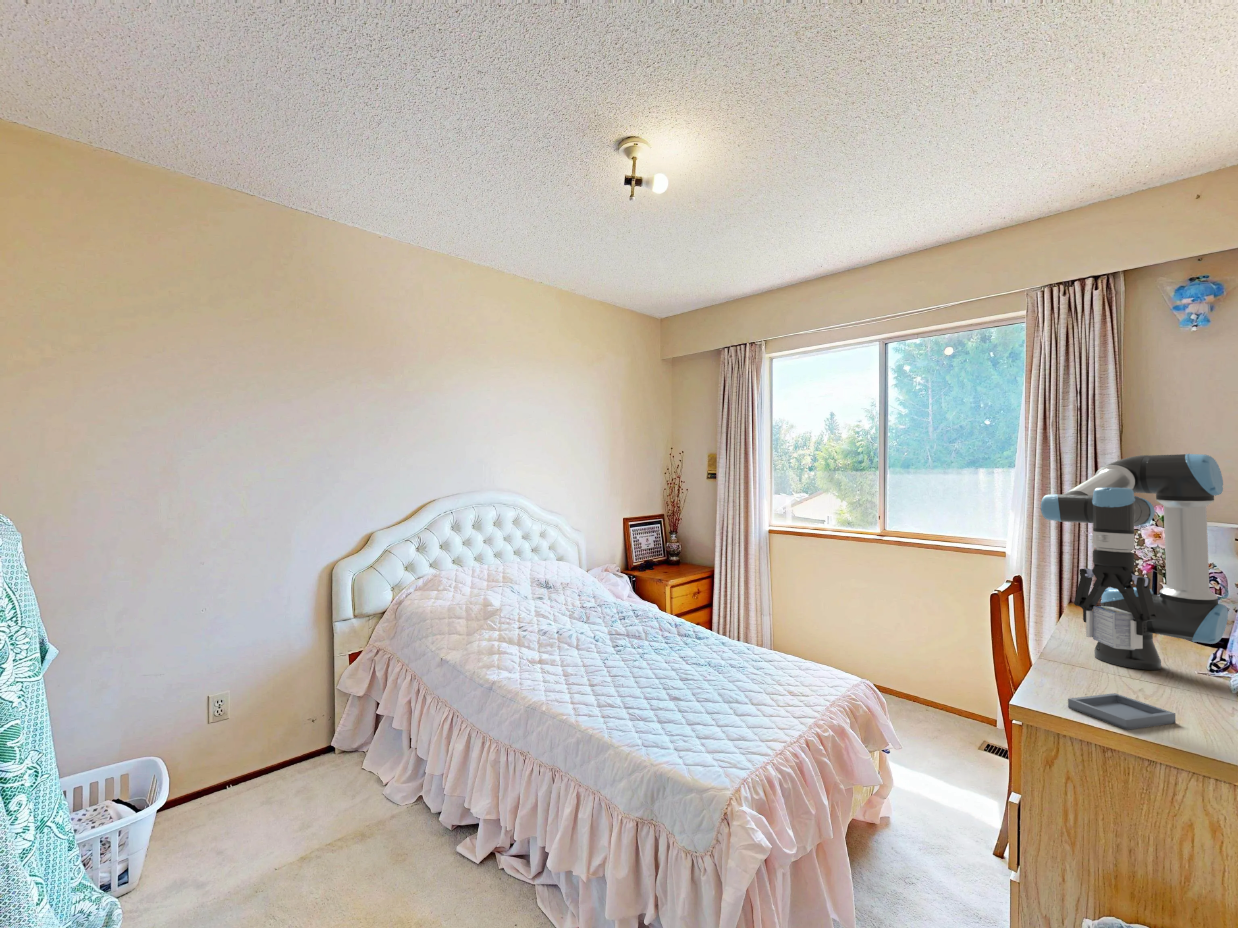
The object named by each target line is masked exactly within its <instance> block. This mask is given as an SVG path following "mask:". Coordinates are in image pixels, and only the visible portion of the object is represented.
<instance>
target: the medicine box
mask: <svg viewBox="0 0 1238 928" xmlns="http://www.w3.org/2000/svg"><path fill="white" fill-rule="evenodd" d="M1092 611H1093V637H1092V639H1093V641H1097V643H1098V642H1101V643H1103V644H1106V645H1108V646H1110V647H1113V648H1116V649H1126V650H1135V649H1133V648H1131V623H1130V620H1133V619H1134V617H1133V615H1132V613H1130V612H1127V611H1123V610H1120V609H1117V608H1114V607H1106V606H1101V605H1096V606H1093V610H1092Z"/></svg>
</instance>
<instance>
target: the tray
mask: <svg viewBox="0 0 1238 928" xmlns="http://www.w3.org/2000/svg"><path fill="white" fill-rule="evenodd" d="M1067 701H1068V702H1067V704H1068V705H1067V706H1068V707H1069V709H1070V708H1071V710H1073V709H1074V711H1076V712H1078V711H1080V712H1079V713H1081V712H1082V713H1081V714H1083V713H1085V714H1084V715H1086V714H1087V715H1086V716H1089V715H1090V716H1089V717H1091V718H1094V717H1095V718H1094V719H1096V718H1097V720H1099V719H1100V720H1099V721H1102V722H1105V723H1107V724H1109V725H1113V726H1115V727H1118V728H1120V729H1123V730H1125V731H1128V730H1137V729H1142V728H1143V729H1144V728H1150V727H1158V726H1164V725H1171V724H1176V723H1177V722H1176V713H1175V712H1173V711H1169V710H1166V709H1163V708H1161V707H1157V706H1155V705H1152V704H1149V703H1145V702H1142V701H1140V700H1137V699H1133V698H1131V697H1128V696H1124V695H1122V694H1118V693H1115V692H1114V693H1113V692H1112V693H1105V694H1104V693H1103V694H1096V695H1088V696H1080V697H1070V698H1068V699H1067ZM1068 707H1067V708H1068Z"/></svg>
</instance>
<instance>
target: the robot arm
mask: <svg viewBox="0 0 1238 928" xmlns="http://www.w3.org/2000/svg"><path fill="white" fill-rule="evenodd" d="M1223 491H1224V479H1223V474H1222V471H1221V468H1220V466H1219V464H1218V462H1217V461H1216V459H1215V458H1214V457H1212V456H1211V455H1208V454H1201V453H1200V454H1199V453H1198V454H1196V453H1195V454H1194V453H1184V454H1153V455H1149V454H1148V455H1147V454H1142V455H1140V454H1139V455H1134V456H1129V457H1125V458H1122V459H1119V460H1116V461H1113V462H1110V463H1108V464H1106V465H1104V466H1102V467H1101V468H1099V469H1098V470H1097V471H1096V472H1095V474H1094V476H1092V477H1091V478H1088V479H1087V480H1085V481H1084V482H1082V483H1079V485H1077V486H1075V487H1073V488H1072V489H1070V490H1068V491H1067V492H1065V493H1063V494H1060V493H1059V494H1058V493H1054V494H1053V493H1052V494H1046V495H1044V496H1043V497H1042V499H1041V503H1040V511H1041V515H1042V517H1043V518H1044V519H1045V520H1047V521H1053V522H1059V523H1061V522H1062V523H1063V522H1064V523H1079V524H1080V523H1081V524H1084V523H1085V524H1092V547H1094V548H1095V549H1093V550H1092V563H1093V568H1079V577H1080V578H1079V580H1078V586H1077V590H1076V593H1075V598H1074V602H1073V603H1074V605H1075V606H1076V607H1079V608H1081V609H1082V620H1083V622H1084V623H1085V630H1086V631H1085V632H1086V633H1085V635H1086V636H1085V637H1086V638H1093V606H1097V604H1098V603H1099V601H1100V606H1106V607H1114V608H1117V609H1120V610H1123V611H1127V612H1130V613H1132V615H1133V617H1134V619H1133V620H1130V623H1131V648H1133V649H1135V650H1126V649H1116V648H1113V647H1110V646H1108V645H1106V644H1103V643H1101V642H1098V641H1097V643H1096V645H1095V648H1094V657H1095V658H1096V659H1098V661H1099V660H1100V661H1102V662H1106V663H1108V664H1111V665H1116V666H1120V667H1125V668H1129V669H1134V670H1135V669H1136V670H1145V671H1146V670H1147V671H1158V670H1161V669H1162V660H1161V658H1160V655H1159V652H1158V650H1157V648H1156V646H1155V643H1154V634H1156V635H1161V636H1166V637H1171V638H1176V639H1182V640H1187V641H1191V642H1193V643H1197V642H1198V643H1202V644H1210V645H1211V644H1212V645H1213V644H1216V643H1218V642H1220V641H1221V639H1223V636H1224V634H1225V631H1226V628H1227V625H1228V624H1227V623H1228V618H1229V611H1228V607H1227V605H1225V604H1223V603H1219V597H1218V595H1217V594H1215V593H1214V592H1212V590H1210V569H1209V567H1210V566H1209V565H1210V564H1209V541H1208V539H1209V538H1208V514H1207V509H1208V508H1207V507H1208V506H1210V505H1211V504H1212V503H1214V502H1215V497H1216V496H1219V495H1222V494H1223ZM1135 494H1152V495H1154V494H1155V501H1157V502H1158V503H1159V504H1161V505H1162V506H1163V523H1164V524H1163V525H1164V527H1163V528H1164V529H1163V530H1164V551H1165V552H1164V553H1165V577H1166V579H1165V580H1166V581H1165V582H1166V585H1165V586H1164V587H1163V588H1161V589H1160V590H1159V595H1158V594H1154V592H1153V589H1151V588H1150V586H1151V577H1149V576H1140V575H1136V573H1135V572H1134V568H1135V554H1134V552H1132V551H1134V550H1135V527H1139V526H1143V525H1146V524H1148V523H1150V522H1151V521H1152V520H1153V519H1154V517H1155V514H1156V511H1155V510H1156V509H1155V507H1154V506H1153V504H1152V503H1151V502H1150V501H1149V500H1147V499H1146V498H1143V497H1140V496H1137V495H1136V496H1135ZM1093 577H1095V578H1096V580H1095V581H1094V583H1093ZM1133 581H1134V582H1133ZM1132 582H1133V583H1134V585H1135V587H1133V585H1132ZM1092 583H1093V587H1092V588H1091V586H1092ZM1100 599H1101V600H1100Z"/></svg>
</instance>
